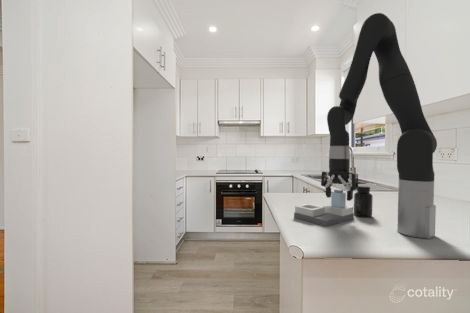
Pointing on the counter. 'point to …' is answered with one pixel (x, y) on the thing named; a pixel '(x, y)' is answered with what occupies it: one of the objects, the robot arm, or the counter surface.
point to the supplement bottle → (363, 202)
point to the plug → (338, 199)
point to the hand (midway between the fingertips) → (338, 198)
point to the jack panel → (323, 214)
